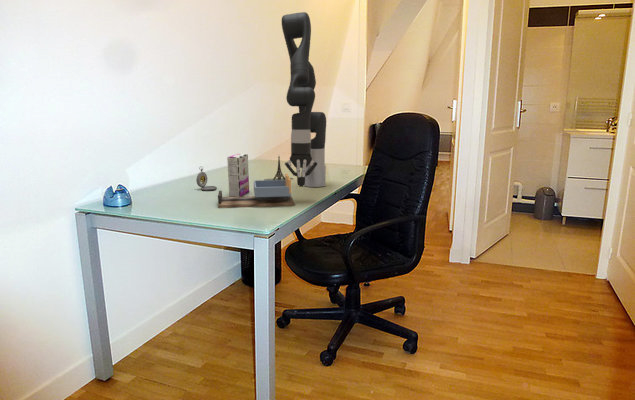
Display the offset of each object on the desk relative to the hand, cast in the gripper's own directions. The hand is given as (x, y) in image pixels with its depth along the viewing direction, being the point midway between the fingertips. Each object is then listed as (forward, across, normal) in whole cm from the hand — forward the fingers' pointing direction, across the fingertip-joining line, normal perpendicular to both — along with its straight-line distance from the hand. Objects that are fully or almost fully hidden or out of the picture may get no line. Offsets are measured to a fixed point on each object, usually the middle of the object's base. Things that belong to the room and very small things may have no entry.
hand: (300, 186), depth 174 cm
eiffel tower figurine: (+6, +5, -48) cm, 48 cm away
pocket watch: (+6, +38, -29) cm, 48 cm away
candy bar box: (+6, +24, -16) cm, 29 cm away
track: (+6, +17, 0) cm, 18 cm away
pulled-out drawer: (+5, +11, 0) cm, 12 cm away
